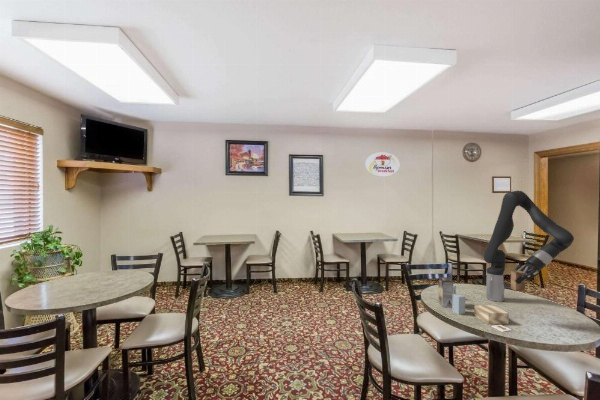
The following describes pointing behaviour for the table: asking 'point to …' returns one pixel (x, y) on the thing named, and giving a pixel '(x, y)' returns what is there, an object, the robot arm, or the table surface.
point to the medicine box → (454, 289)
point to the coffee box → (445, 292)
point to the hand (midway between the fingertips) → (514, 281)
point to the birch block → (491, 314)
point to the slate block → (458, 304)
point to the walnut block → (515, 276)
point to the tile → (501, 328)
